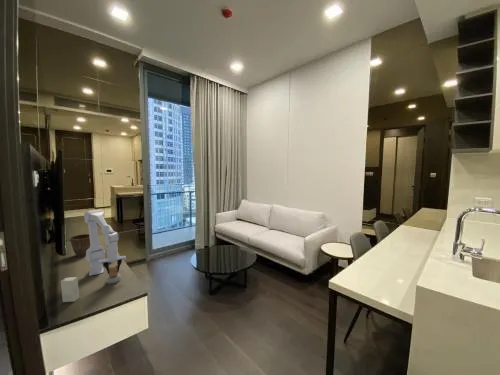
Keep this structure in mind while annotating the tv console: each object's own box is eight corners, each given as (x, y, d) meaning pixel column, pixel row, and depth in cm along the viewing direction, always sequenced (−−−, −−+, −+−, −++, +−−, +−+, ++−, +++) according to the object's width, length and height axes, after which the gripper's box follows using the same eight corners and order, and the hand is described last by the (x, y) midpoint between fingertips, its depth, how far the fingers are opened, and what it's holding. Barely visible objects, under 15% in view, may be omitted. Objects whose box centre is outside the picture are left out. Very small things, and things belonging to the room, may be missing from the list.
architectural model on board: (112, 263, 168) (112, 250, 167) (108, 264, 166) (107, 251, 165) (110, 258, 176) (109, 247, 176) (105, 259, 174) (105, 248, 174)
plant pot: (97, 252, 190) (96, 234, 189) (82, 258, 175) (81, 239, 174) (81, 251, 191) (80, 233, 190) (65, 258, 177) (64, 238, 175)
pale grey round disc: (106, 279, 141) (106, 275, 141) (120, 276, 145) (120, 272, 145) (106, 285, 134) (105, 280, 134) (121, 281, 138) (120, 277, 138)
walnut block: (109, 274, 140) (108, 266, 140) (117, 273, 142) (117, 264, 142) (109, 277, 136) (108, 269, 136) (117, 275, 139) (117, 267, 138)
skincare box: (79, 297, 121) (78, 276, 120) (73, 302, 116) (72, 280, 115) (67, 298, 120) (66, 276, 119) (61, 302, 115) (60, 280, 115)
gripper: (98, 256, 131) (99, 277, 132) (125, 251, 139) (126, 271, 140) (98, 252, 137) (99, 273, 138) (125, 248, 145) (125, 267, 146)
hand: (113, 272), depth 139 cm, fingers closed on walnut block, 4 cm apart
